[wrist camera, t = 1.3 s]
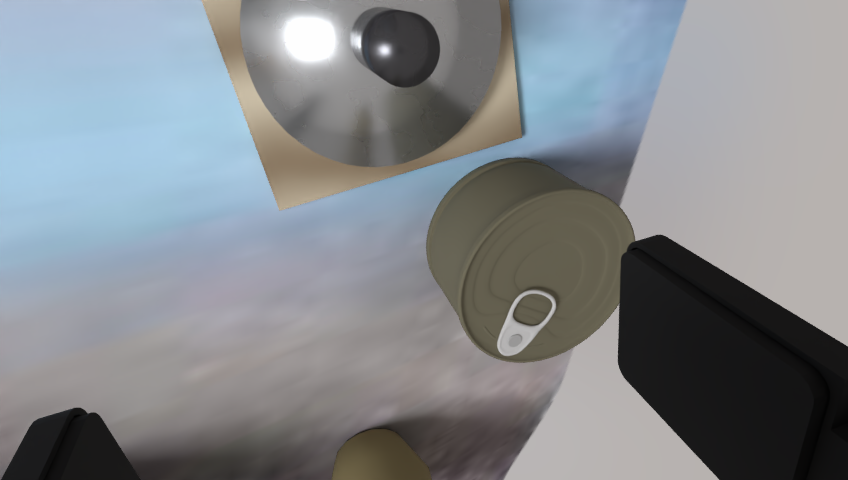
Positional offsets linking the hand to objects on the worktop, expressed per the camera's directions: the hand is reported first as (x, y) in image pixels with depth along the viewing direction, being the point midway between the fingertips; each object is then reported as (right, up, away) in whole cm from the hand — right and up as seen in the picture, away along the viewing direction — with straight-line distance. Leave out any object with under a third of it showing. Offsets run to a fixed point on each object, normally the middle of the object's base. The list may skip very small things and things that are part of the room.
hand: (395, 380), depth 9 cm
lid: (-2, +13, +19) cm, 23 cm away
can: (+6, +3, +28) cm, 29 cm away
